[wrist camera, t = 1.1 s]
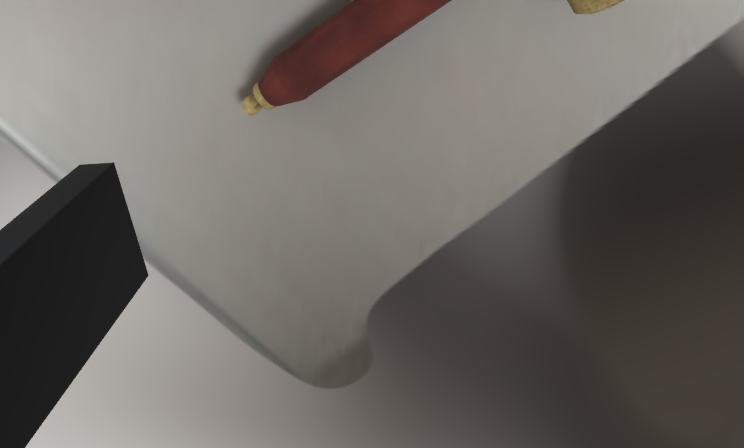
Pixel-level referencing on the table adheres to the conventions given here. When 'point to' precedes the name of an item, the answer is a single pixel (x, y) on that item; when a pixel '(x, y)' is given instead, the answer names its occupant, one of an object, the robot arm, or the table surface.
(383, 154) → the table surface
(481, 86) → the table surface
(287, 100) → the gavel
